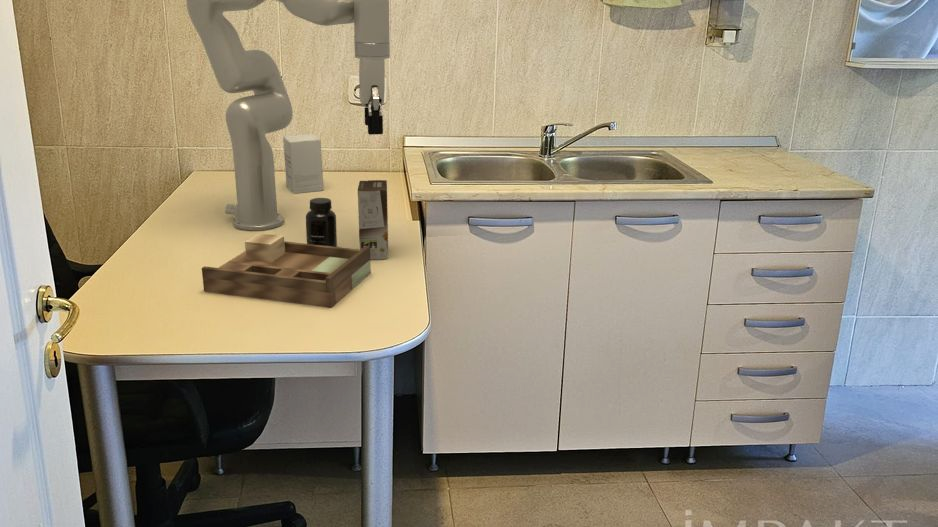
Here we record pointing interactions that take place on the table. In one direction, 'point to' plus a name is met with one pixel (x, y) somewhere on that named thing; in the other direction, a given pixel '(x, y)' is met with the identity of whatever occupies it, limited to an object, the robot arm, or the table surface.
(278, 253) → the maple block
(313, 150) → the supplement box
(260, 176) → the robot arm
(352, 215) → the table surface
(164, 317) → the table surface
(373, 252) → the coffee box
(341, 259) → the box
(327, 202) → the supplement bottle
